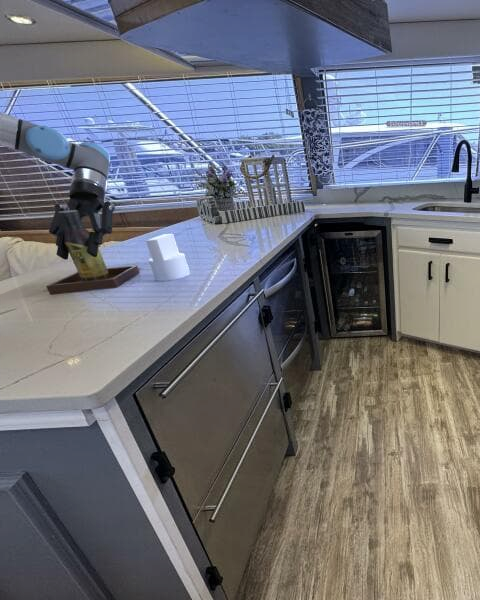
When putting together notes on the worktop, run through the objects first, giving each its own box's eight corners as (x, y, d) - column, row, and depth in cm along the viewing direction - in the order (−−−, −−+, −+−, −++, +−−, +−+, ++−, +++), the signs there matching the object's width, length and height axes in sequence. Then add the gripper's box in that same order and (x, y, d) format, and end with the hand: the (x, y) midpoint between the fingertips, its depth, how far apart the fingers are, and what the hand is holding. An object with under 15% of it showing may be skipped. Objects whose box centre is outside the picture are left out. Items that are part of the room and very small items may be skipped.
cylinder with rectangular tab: (165, 272, 102) (152, 234, 97) (195, 270, 102) (184, 232, 98) (148, 282, 93) (133, 241, 89) (181, 279, 94) (167, 239, 89)
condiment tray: (50, 294, 87) (45, 286, 86) (82, 278, 99) (78, 271, 98) (116, 287, 90) (113, 279, 89) (139, 273, 102) (137, 265, 101)
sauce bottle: (78, 282, 93) (44, 212, 85) (103, 275, 98) (73, 209, 90) (91, 285, 90) (57, 213, 82) (116, 277, 96) (86, 209, 88)
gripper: (133, 195, 101) (126, 258, 93) (60, 199, 97) (46, 266, 89) (117, 178, 94) (108, 244, 86) (38, 181, 90) (21, 252, 82)
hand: (77, 255), depth 88 cm, fingers closed on sauce bottle, 6 cm apart
